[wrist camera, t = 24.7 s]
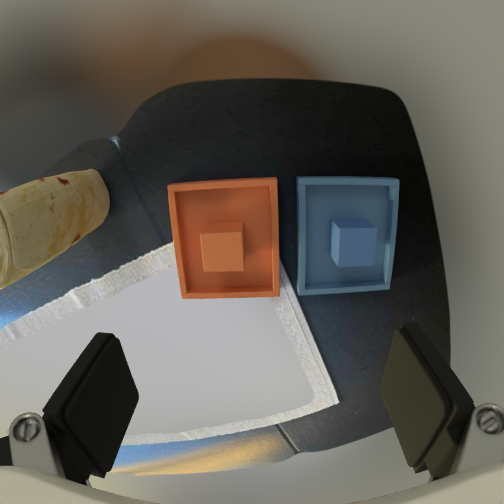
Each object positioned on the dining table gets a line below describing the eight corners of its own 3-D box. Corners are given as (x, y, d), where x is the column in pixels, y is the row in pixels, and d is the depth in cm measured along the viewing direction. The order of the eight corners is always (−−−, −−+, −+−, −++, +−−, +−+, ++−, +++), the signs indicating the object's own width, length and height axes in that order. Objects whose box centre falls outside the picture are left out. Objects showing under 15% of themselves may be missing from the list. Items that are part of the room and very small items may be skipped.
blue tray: (296, 176, 35) (298, 178, 33) (392, 177, 34) (399, 179, 32) (296, 288, 40) (298, 295, 38) (384, 283, 39) (389, 289, 37)
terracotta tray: (171, 183, 35) (167, 185, 33) (276, 177, 35) (277, 178, 33) (185, 291, 40) (181, 298, 38) (278, 289, 40) (279, 296, 38)
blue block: (330, 218, 36) (339, 228, 32) (364, 218, 36) (377, 227, 31) (329, 253, 37) (337, 267, 33) (362, 252, 37) (374, 265, 33)
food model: (81, 161, 34) (-32, 185, 15) (121, 174, 35) (13, 207, 16) (69, 227, 37) (-29, 285, 18) (106, 243, 38) (14, 315, 19)
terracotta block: (206, 223, 36) (199, 233, 32) (243, 221, 36) (241, 231, 32) (209, 258, 38) (204, 272, 34) (245, 256, 38) (244, 271, 33)
